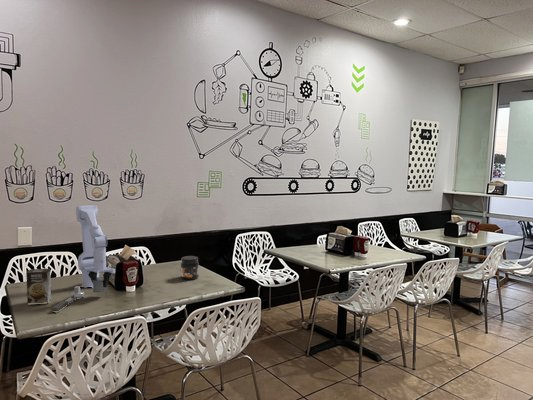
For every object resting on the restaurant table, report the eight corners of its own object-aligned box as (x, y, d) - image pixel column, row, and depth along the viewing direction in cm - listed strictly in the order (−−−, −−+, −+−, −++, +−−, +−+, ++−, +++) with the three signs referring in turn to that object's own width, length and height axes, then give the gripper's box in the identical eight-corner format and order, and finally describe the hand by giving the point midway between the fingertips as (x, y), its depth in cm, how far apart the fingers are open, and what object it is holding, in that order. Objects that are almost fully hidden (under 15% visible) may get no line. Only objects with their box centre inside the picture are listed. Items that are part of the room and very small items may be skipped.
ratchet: (74, 295, 208) (74, 284, 207) (86, 295, 208) (86, 285, 207) (48, 312, 185) (47, 300, 185) (61, 313, 185) (60, 301, 184)
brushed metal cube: (98, 288, 208) (97, 277, 208) (107, 288, 208) (107, 277, 207) (93, 292, 204) (92, 280, 203) (103, 292, 203) (102, 280, 202)
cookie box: (27, 306, 193) (25, 272, 191) (30, 301, 199) (29, 268, 197) (48, 304, 195) (47, 271, 193) (51, 299, 201) (50, 267, 199)
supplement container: (177, 279, 237) (177, 259, 236) (185, 274, 247) (185, 254, 246) (193, 281, 234) (193, 260, 233) (201, 276, 244) (201, 256, 243)
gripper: (81, 261, 201) (82, 288, 202) (110, 262, 200) (111, 289, 201) (88, 257, 208) (89, 283, 209) (116, 259, 207) (117, 285, 208)
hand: (100, 286), depth 206 cm, fingers closed on brushed metal cube, 5 cm apart
